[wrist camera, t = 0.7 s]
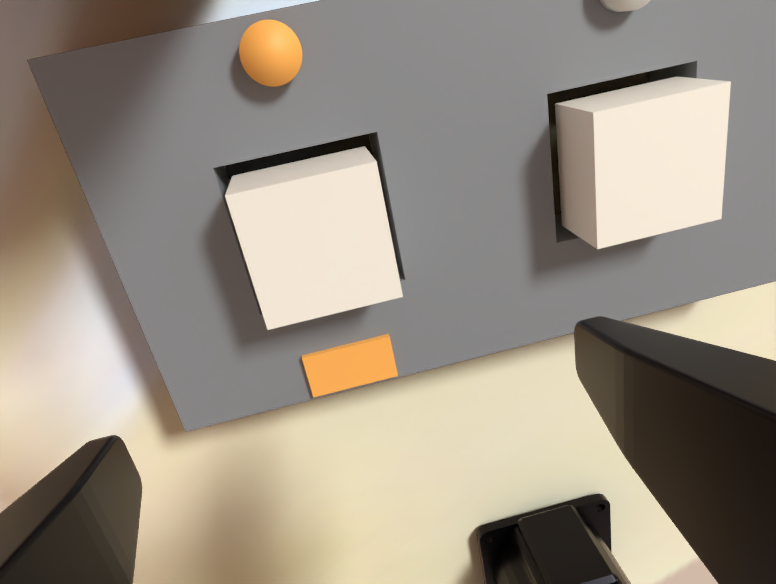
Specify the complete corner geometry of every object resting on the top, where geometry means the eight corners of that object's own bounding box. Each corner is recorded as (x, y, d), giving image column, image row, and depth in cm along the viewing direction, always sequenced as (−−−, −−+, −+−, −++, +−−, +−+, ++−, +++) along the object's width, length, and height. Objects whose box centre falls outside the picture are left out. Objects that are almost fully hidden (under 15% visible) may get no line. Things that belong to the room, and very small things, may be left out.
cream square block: (389, 267, 19) (403, 296, 17) (269, 296, 18) (267, 329, 16) (364, 146, 17) (376, 161, 15) (232, 175, 17) (224, 195, 15)
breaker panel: (729, 257, 23) (789, 287, 21) (195, 391, 22) (182, 443, 19) (755, -84, 18) (841, -107, 16) (61, 57, 17) (17, 60, 14)
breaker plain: (672, 198, 20) (721, 218, 17) (561, 225, 19) (597, 249, 17) (676, 76, 18) (730, 81, 16) (554, 103, 18) (593, 112, 15)
